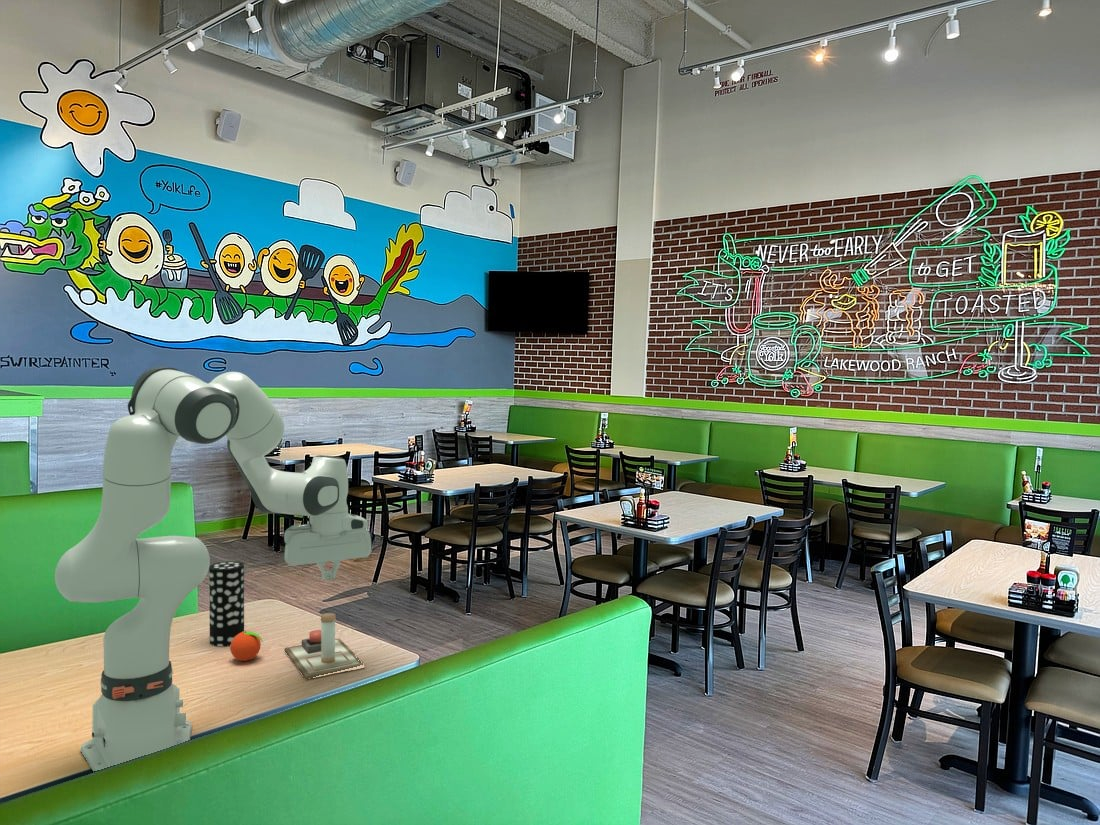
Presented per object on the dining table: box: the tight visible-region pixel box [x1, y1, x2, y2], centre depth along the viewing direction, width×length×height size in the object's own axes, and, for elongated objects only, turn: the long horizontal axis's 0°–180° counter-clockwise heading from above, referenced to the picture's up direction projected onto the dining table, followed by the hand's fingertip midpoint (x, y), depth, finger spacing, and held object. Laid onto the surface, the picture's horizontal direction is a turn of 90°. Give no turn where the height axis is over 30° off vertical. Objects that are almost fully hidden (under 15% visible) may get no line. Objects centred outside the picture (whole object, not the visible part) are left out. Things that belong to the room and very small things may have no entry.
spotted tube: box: [208, 560, 245, 647], centre depth 199 cm, size 8×8×20 cm
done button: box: [308, 629, 321, 642], centre depth 193 cm, size 4×4×2 cm
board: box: [283, 637, 364, 680], centre depth 188 cm, size 20×14×3 cm
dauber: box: [320, 612, 337, 663], centre depth 185 cm, size 3×3×11 cm
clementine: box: [229, 630, 264, 662], centre depth 187 cm, size 8×7×7 cm
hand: (328, 578), depth 184 cm, fingers closed
